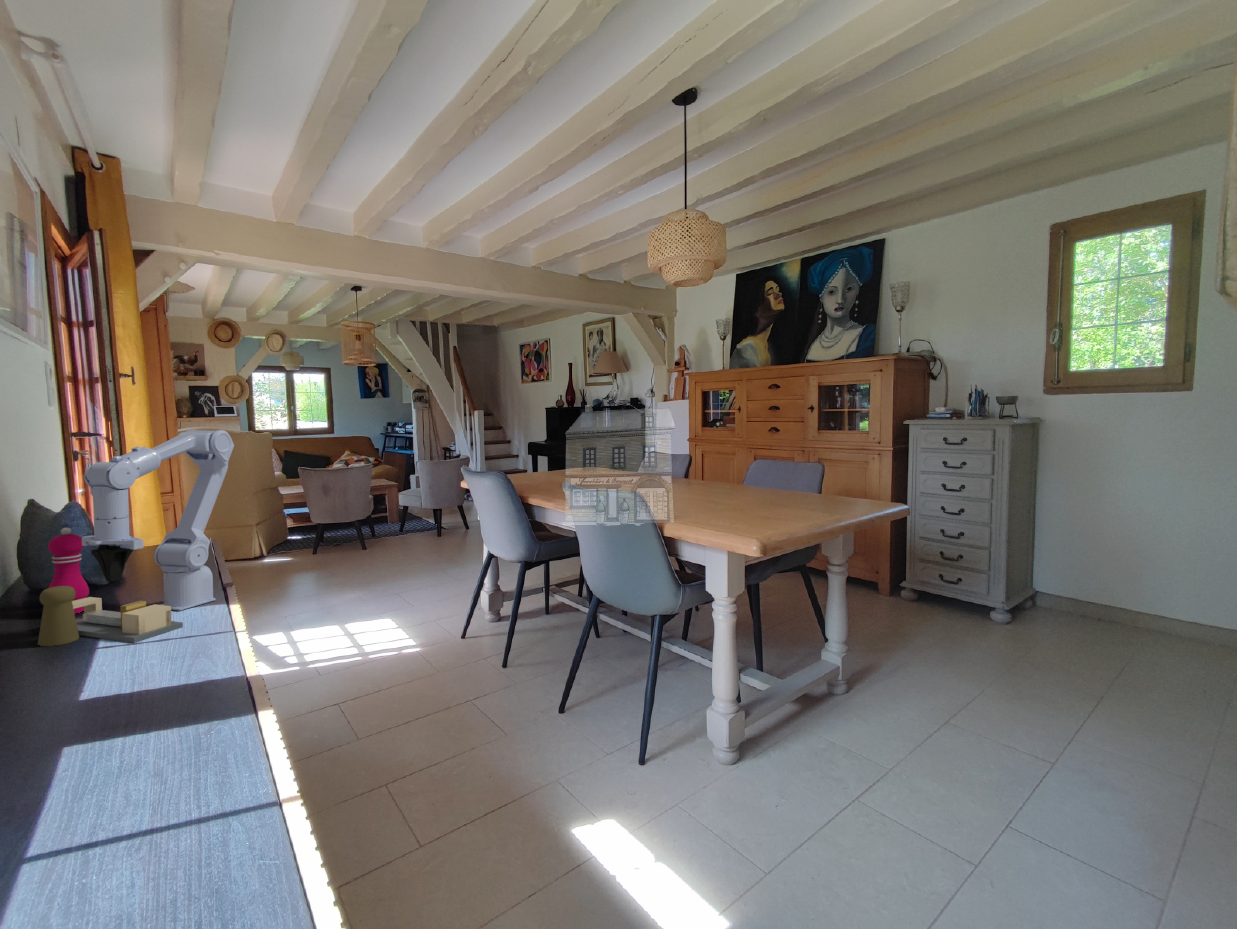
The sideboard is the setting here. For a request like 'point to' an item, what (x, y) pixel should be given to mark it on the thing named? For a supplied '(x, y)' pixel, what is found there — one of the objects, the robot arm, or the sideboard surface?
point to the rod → (111, 614)
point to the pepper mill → (68, 564)
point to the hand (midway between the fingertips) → (113, 580)
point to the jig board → (127, 622)
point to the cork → (58, 616)
